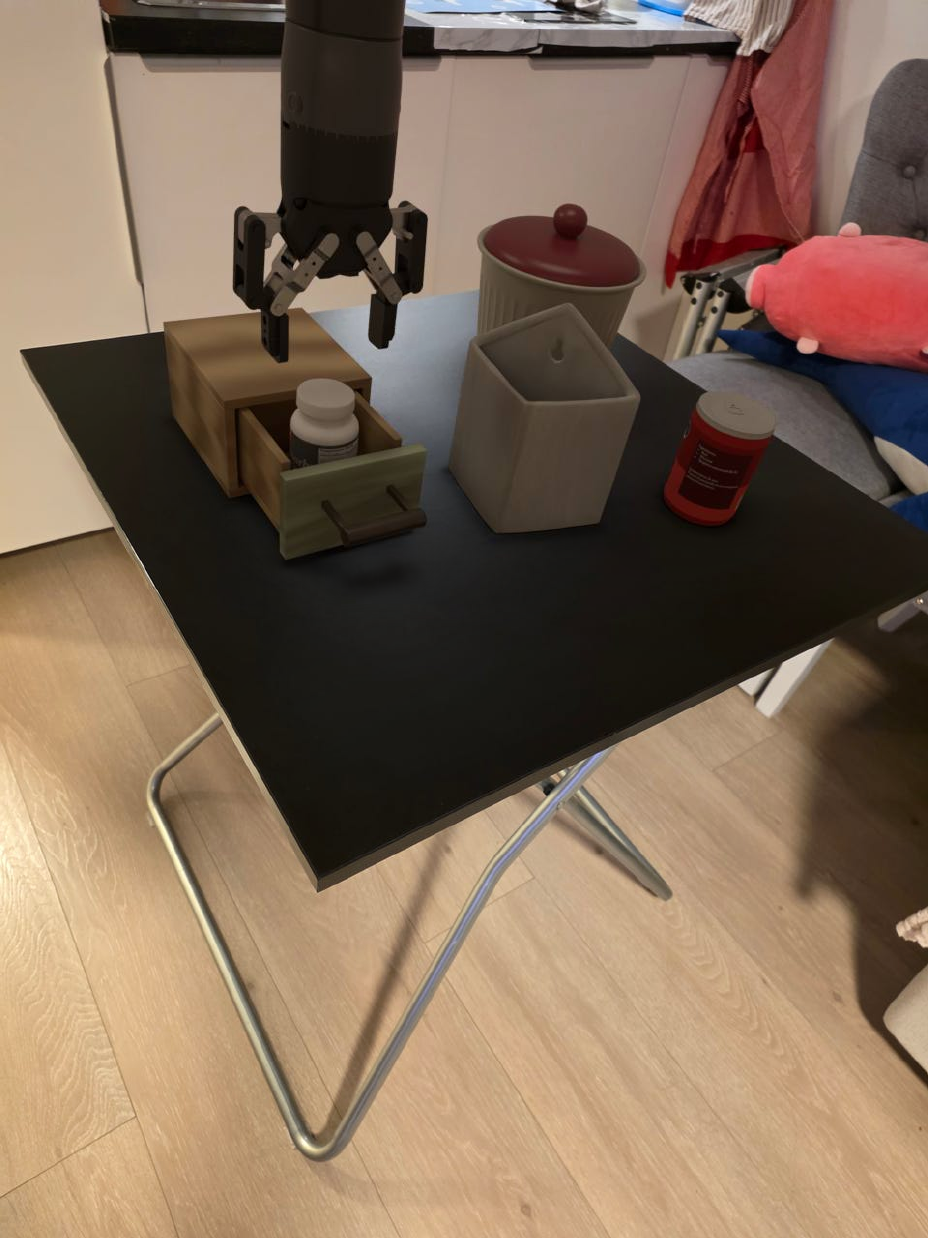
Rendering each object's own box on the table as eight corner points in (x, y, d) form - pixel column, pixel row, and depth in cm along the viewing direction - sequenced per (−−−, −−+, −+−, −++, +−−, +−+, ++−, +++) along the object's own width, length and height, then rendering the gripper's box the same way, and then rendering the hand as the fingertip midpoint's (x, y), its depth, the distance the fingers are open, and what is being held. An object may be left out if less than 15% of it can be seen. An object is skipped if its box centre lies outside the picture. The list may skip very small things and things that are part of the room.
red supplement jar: (708, 480, 87) (748, 388, 80) (747, 525, 82) (794, 431, 75) (647, 484, 85) (682, 390, 77) (684, 531, 80) (726, 435, 72)
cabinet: (365, 468, 79) (372, 377, 72) (229, 498, 72) (223, 400, 65) (300, 395, 87) (301, 306, 80) (172, 416, 80) (162, 321, 74)
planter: (416, 503, 76) (445, 302, 63) (450, 464, 82) (482, 273, 68) (577, 564, 73) (642, 367, 60) (600, 520, 79) (664, 331, 65)
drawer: (447, 560, 69) (461, 484, 64) (313, 600, 63) (316, 520, 58) (346, 446, 79) (351, 372, 74) (223, 471, 73) (218, 393, 68)
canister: (493, 343, 104) (527, 164, 89) (623, 391, 99) (681, 211, 85) (427, 396, 91) (454, 197, 77) (572, 454, 87) (630, 255, 73)
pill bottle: (279, 480, 72) (279, 378, 65) (338, 469, 74) (344, 370, 68) (303, 517, 69) (305, 414, 62) (364, 505, 71) (373, 405, 64)
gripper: (406, 99, 57) (385, 321, 68) (209, 91, 50) (222, 340, 61) (464, 132, 53) (431, 362, 64) (258, 128, 46) (262, 387, 57)
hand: (329, 351), depth 62 cm, fingers open, 8 cm apart
